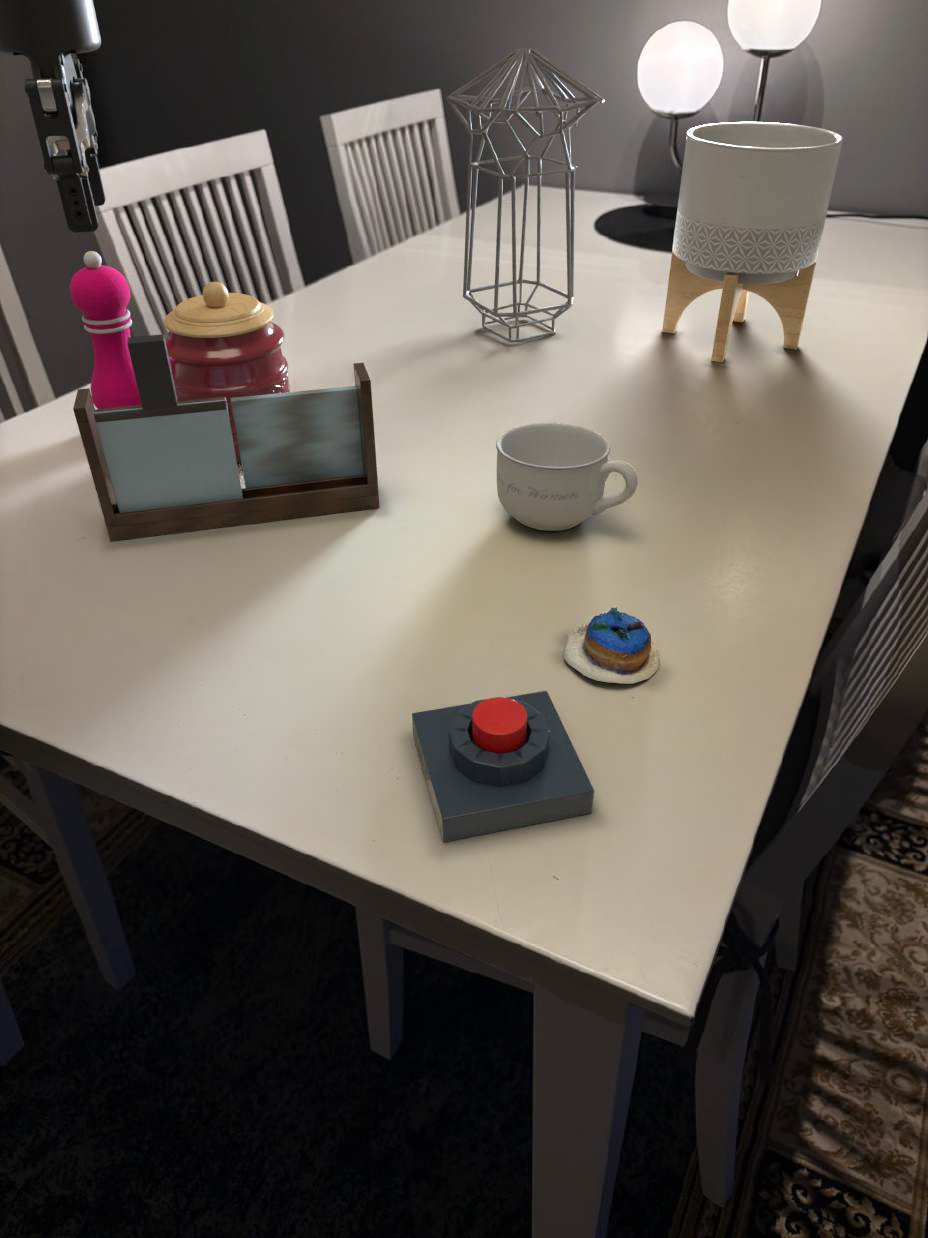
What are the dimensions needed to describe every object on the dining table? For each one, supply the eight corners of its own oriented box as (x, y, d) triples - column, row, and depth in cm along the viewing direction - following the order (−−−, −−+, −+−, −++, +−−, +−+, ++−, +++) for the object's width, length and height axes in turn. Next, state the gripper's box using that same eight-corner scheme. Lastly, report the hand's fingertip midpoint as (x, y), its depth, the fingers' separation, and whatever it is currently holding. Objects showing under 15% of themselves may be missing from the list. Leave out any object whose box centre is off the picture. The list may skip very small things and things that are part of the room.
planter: (647, 352, 125) (672, 141, 110) (676, 310, 139) (702, 118, 124) (789, 371, 119) (836, 152, 104) (804, 326, 133) (848, 126, 118)
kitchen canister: (315, 448, 102) (296, 288, 92) (202, 476, 97) (169, 310, 86) (272, 407, 111) (251, 257, 101) (167, 431, 106) (133, 276, 95)
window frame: (110, 541, 87) (72, 408, 79) (113, 518, 90) (77, 389, 82) (379, 507, 92) (370, 379, 83) (372, 487, 95) (363, 362, 87)
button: (479, 758, 59) (479, 738, 58) (466, 721, 61) (466, 701, 60) (533, 748, 59) (534, 729, 58) (517, 712, 62) (518, 693, 61)
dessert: (679, 675, 69) (641, 626, 66) (608, 722, 71) (567, 677, 68) (646, 619, 76) (609, 573, 73) (581, 664, 77) (543, 620, 74)
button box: (443, 842, 58) (441, 800, 55) (412, 735, 65) (410, 693, 63) (592, 813, 60) (597, 770, 57) (545, 712, 67) (548, 671, 65)
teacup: (472, 516, 90) (472, 442, 85) (541, 478, 96) (545, 407, 92) (585, 569, 82) (592, 491, 78) (652, 524, 89) (663, 449, 84)
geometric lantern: (500, 357, 124) (505, 57, 103) (444, 323, 135) (439, 45, 114) (593, 336, 130) (616, 49, 109) (532, 305, 141) (543, 39, 120)
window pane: (121, 523, 86) (74, 347, 76) (122, 514, 88) (76, 341, 77) (244, 508, 88) (214, 335, 78) (243, 500, 90) (214, 329, 80)
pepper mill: (89, 440, 104) (40, 259, 92) (119, 414, 110) (75, 240, 98) (149, 444, 103) (106, 262, 91) (175, 418, 109) (138, 243, 97)
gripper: (-10, -30, 69) (50, 200, 79) (-47, -24, 58) (28, 243, 67) (94, -32, 70) (140, 195, 80) (78, -26, 59) (133, 236, 69)
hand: (89, 217), depth 74 cm, fingers open, 8 cm apart
